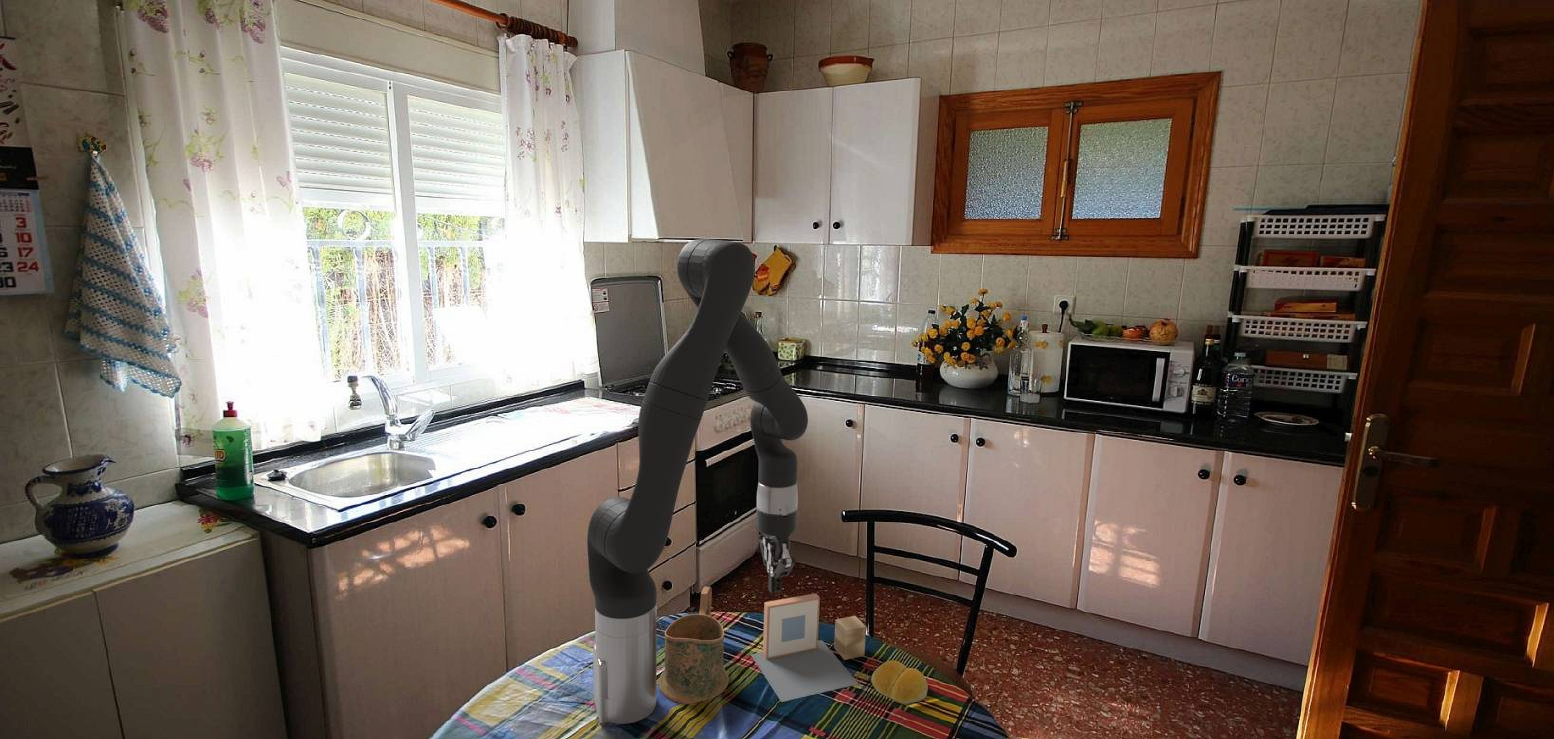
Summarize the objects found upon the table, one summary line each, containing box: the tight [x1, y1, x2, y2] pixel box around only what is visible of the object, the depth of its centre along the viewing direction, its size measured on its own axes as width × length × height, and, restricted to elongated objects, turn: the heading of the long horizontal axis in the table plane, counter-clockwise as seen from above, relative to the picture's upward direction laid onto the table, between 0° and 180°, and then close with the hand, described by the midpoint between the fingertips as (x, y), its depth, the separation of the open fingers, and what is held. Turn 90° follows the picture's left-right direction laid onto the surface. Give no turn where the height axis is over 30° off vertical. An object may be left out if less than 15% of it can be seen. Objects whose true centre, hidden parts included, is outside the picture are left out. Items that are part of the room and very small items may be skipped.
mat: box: [750, 639, 859, 703], centre depth 122 cm, size 14×14×1 cm
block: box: [833, 615, 867, 661], centre depth 127 cm, size 4×4×6 cm
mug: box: [658, 586, 730, 705], centre depth 120 cm, size 12×18×12 cm, turn 174°
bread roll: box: [870, 660, 929, 705], centre depth 118 cm, size 8×9×4 cm
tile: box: [762, 592, 821, 659], centre depth 126 cm, size 10×2×10 cm, turn 113°
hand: (775, 592), depth 134 cm, fingers closed
